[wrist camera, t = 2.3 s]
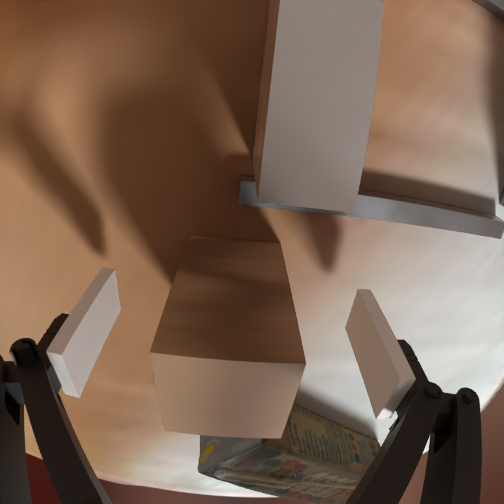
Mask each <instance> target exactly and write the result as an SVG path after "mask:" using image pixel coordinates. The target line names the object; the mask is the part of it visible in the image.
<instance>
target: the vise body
mask: <svg viewBox="0 0 504 504" xmlns="http://www.w3.org/2000/svg"><path fill="white" fill-rule="evenodd" d="M472 1H474V2H476V3H477V4H479V5H481V6H482V7H484V8H486V9H487V10H489V11H490V12H492V13H494V14H495V15H497V16H498V17H500V18H501V19H503V20H504V0H472ZM500 204H501V205H502V206H504V190H503V193H502V197H501V201H500ZM238 205H244V206H256V207H267V208H277V209H288V210H297V211H307V212H316V213H325V214H334V215H343V216H351V217H359V218H367V219H375V220H383V221H390V222H398V223H405V224H412V225H419V226H425V227H432V228H439V229H445V230H451V231H458V232H464V233H470V234H476V235H481V236H487V237H493V238H498V239H501V237H502V234H503V231H504V221H503V220H501V219H500V218H498V217H497V216H494V215H490V214H486V213H482V212H477V211H473V210H468V209H464V208H459V207H455V206H450V205H445V204H440V203H435V202H430V201H425V200H420V199H414V198H409V197H403V196H398V195H392V194H386V193H380V192H374V191H368V190H361V189H359V190H358V195H357V200H356V205H355V209H354V213H350V212H342V211H334V210H325V209H316V208H307V207H298V206H288V205H278V204H267V203H257V194H256V185H255V177H254V176H243V175H241V179H240V190H239V203H238Z"/></svg>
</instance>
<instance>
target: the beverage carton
mask: <svg viewBox="0 0 504 504" xmlns="http://www.w3.org/2000/svg"><path fill="white" fill-rule="evenodd" d="M380 448H381V446H380V444H379V442H378V441H375V440H373V439H371V438H369V437H366V436H364V435H362V434H359V433H357V432H354V431H352V430H349V429H347V428H345V427H343V426H340V425H338V424H336V423H334V422H331V421H329V420H327V419H325V418H323V417H320V416H318V415H316V414H314V413H312V412H310V411H308V410H306V409H304V408H302V407H299V406H297V405H295V404H294V403H293V405H292V408H291V411H290V414H289V417H288V420H287V423H286V425H285V428H284V431H283V434H282V437H281V438H237V437H220V436H208V435H200V457H199V464H198V472H199V473H201V474H203V475H206V476H209V477H212V478H215V479H218V480H221V481H225V482H228V483H231V484H234V485H237V486H240V487H244V488H247V489H250V490H254V491H258V492H262V493H265V494H270V495H274V496H278V497H283V498H287V499H293V500H298V501H303V502H310V503H315V504H343V503H344V502H346V501H347V500H348V499H349V497H350V496H351V494H352V493H353V491H354V490H355V488H356V487H357V485H358V484H359V482H360V481H361V479H362V478H363V476H364V475H365V473H366V471H367V470H368V468H369V467H370V465H371V463H372V462H373V460H374V458H375V457H376V455H377V453H378V451H379V450H380Z"/></svg>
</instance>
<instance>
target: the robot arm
mask: <svg viewBox="0 0 504 504" xmlns="http://www.w3.org/2000/svg"><path fill="white" fill-rule="evenodd" d="M120 311H121V308H120V302H119V295H118V288H117V281H116V274H115V269H111V268H102V269H101V270H100V272H99V273H98V274H97V276H96V277H95V278H94V280H93V281H92V283H91V284H90V285H89V287H88V288H87V290H86V291H85V293H84V294H83V295H82V297H81V298H80V300H79V301H78V303H77V304H76V306H75V307H74V309H73V310H72V311H71V313H70V314H64V313H62V314H61V315H59V316H58V317H57V318H55V319H54V321H53V322H52V324H51V325H50V328H48V329H47V331H46V333H45V334H44V335H43V337H42V338H41V340H40V341H39V343H38V345H36V343H35V341H34V340H32V339H30V338H22V339H19V340H17V341H16V342H14V343H13V344H12V346H11V348H10V354H11V356H12V358H13V360H14V361H4V360H3V358H2V356H1V355H0V504H32V502H31V495H30V488H29V481H28V473H27V464H26V451H25V434H24V404H25V405H26V409H27V412H28V416H29V419H30V423H31V426H32V429H33V432H34V435H35V438H36V441H37V444H38V447H39V450H40V453H41V455H42V458H43V461H44V463H45V466H46V468H47V471H48V473H49V476H50V478H51V481H52V483H53V485H54V488H55V490H56V492H57V494H58V496H59V498H60V501H61V503H62V504H112V502H111V501H110V499H109V498H108V496H107V494H106V492H105V491H104V489H103V487H102V485H101V484H100V482H99V480H98V478H97V476H96V474H95V473H94V471H93V469H92V467H91V465H90V463H89V461H88V459H87V457H86V455H85V453H84V451H83V449H82V447H81V445H80V443H79V440H78V438H77V436H76V434H75V432H74V429H73V427H72V425H71V422H70V420H69V418H68V415H67V413H66V410H65V408H64V405H63V403H62V400H61V397H60V395H59V393H58V392H59V390H60V388H61V386H62V389H63V391H64V393H65V394H67V395H70V396H74V397H78V398H80V396H81V393H82V391H83V389H84V386H85V384H86V382H87V380H88V377H89V375H90V373H91V371H92V369H93V366H94V364H95V362H96V360H97V358H98V356H99V353H100V351H101V349H102V347H103V345H104V343H105V341H106V339H107V337H108V335H109V333H110V331H111V329H112V326H113V324H114V322H115V320H116V318H117V317H118V315H119V313H120ZM345 329H346V331H347V334H348V337H349V340H350V343H351V345H352V348H353V351H354V354H355V357H356V360H357V363H358V366H359V369H360V372H361V375H362V378H363V380H364V384H365V387H366V390H367V393H368V396H369V399H370V402H371V405H372V408H373V411H374V415H375V418H376V419H385V418H391V416H392V415H393V413H394V412H395V411H396V412H397V415H398V418H397V419H396V420H395V422H394V423H393V424H392V426H391V427H390V428H389V430H390V432H389V434H388V435H387V437H386V439H385V441H384V443H383V444H382V446H381V448H380V450H379V451H378V453H377V455H376V457H375V458H374V460H373V462H372V463H371V465H370V467H369V468H368V470H367V471H366V473H365V475H364V476H363V478H362V479H361V481H360V482H359V484H358V485H357V487H356V488H355V490H354V491H353V493H352V494H351V496H350V497H349V499H348V500H347V501H346V503H345V504H398V503H399V501H400V499H401V497H402V496H403V494H404V492H405V490H406V488H407V486H408V484H409V482H410V480H411V478H412V475H413V473H414V471H415V469H416V467H417V465H418V462H419V460H420V458H421V456H422V453H423V451H424V448H425V446H426V444H427V441H428V439H429V436H430V443H429V451H428V459H427V467H426V473H425V480H424V485H423V491H422V496H421V501H420V504H479V501H480V489H481V465H482V464H481V463H482V445H481V444H482V440H481V417H480V402H479V397H478V395H477V394H476V392H474V391H473V390H472V389H469V388H461V389H460V390H459V391H458V392H457V393H456V394H450V393H444V392H442V389H441V388H440V387H439V386H438V385H436V384H435V383H432V382H429V381H428V379H427V377H426V375H425V373H424V371H423V369H422V367H421V365H420V363H419V361H418V359H417V357H416V355H415V353H414V351H413V349H412V348H411V346H410V345H409V344H408V343H407V342H406V341H405V340H397V339H396V337H395V335H394V333H393V331H392V329H391V327H390V326H389V324H388V322H387V320H386V318H385V316H384V314H383V312H382V310H381V308H380V307H379V305H378V303H377V301H376V299H375V297H374V295H373V294H372V292H371V290H367V289H358V290H357V294H356V297H355V300H354V303H353V306H352V309H351V312H350V315H349V318H348V321H347V324H346V327H345Z"/></svg>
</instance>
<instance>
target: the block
mask: <svg viewBox="0 0 504 504" xmlns="http://www.w3.org/2000/svg"><path fill="white" fill-rule="evenodd" d="M150 356H151V363H152V369H153V375H154V380H155V386H156V392H157V397H158V402H159V407H160V412H161V417H162V421H163V426H164V431H171V432H179V433H188V434H197V435H208V436H220V437H237V438H281V437H282V434H283V431H284V428H285V425H286V423H287V420H288V417H289V414H290V411H291V408H292V405H293V402H294V399H295V396H296V393H297V390H298V387H299V384H300V381H301V378H302V375H303V372H304V368H305V365H306V361H305V356H304V351H303V346H302V341H301V336H300V331H299V327H298V322H297V317H296V312H295V307H294V303H293V298H292V293H291V289H290V284H289V280H288V275H287V270H286V266H285V261H284V257H283V252H282V248H281V244H280V243H277V242H265V241H253V240H241V239H228V238H216V237H203V236H190V237H189V240H188V242H187V245H186V248H185V250H184V253H183V256H182V259H181V261H180V264H179V267H178V270H177V272H176V275H175V278H174V281H173V284H172V287H171V290H170V292H169V295H168V298H167V301H166V304H165V307H164V310H163V313H162V316H161V319H160V322H159V325H158V328H157V331H156V335H155V338H154V341H153V344H152V347H151V350H150Z"/></svg>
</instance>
